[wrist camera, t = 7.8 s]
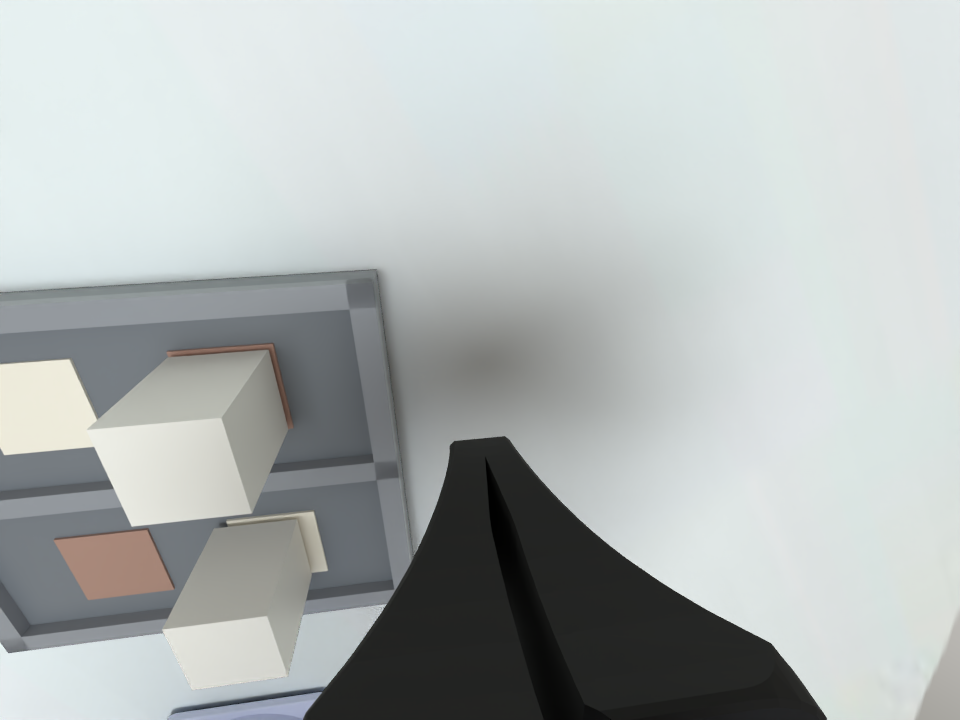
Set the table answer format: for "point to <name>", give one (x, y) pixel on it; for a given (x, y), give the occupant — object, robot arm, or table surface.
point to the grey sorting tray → (178, 545)
